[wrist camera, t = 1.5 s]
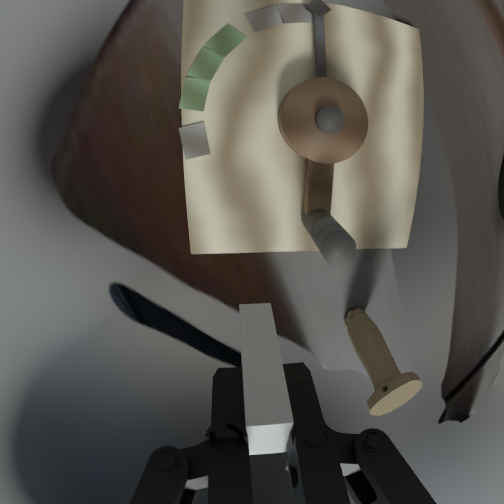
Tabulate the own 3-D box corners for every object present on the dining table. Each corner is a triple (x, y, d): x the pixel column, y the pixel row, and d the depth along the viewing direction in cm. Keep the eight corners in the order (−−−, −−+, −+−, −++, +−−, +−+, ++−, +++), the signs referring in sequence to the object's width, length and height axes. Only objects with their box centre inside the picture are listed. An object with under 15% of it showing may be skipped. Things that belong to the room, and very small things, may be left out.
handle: (327, 322, 36) (362, 411, 23) (362, 292, 35) (413, 375, 21) (346, 336, 38) (381, 418, 25) (379, 308, 36) (427, 386, 23)
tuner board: (413, 31, 20) (419, 29, 18) (401, 243, 32) (407, 248, 30) (183, 3, 18) (181, -2, 17) (190, 249, 30) (188, 255, 29)
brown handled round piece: (275, -3, 18) (290, -42, 10) (352, 8, 18) (387, -19, 11) (275, 230, 28) (289, 268, 21) (347, 229, 29) (380, 263, 22)
